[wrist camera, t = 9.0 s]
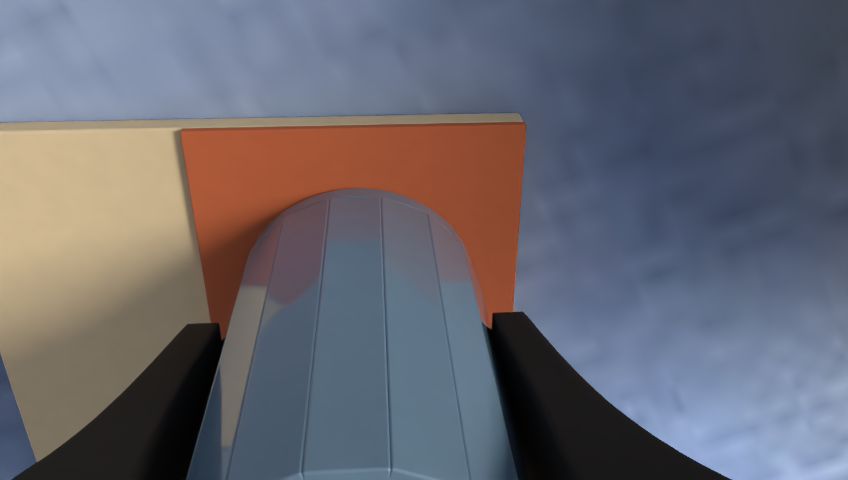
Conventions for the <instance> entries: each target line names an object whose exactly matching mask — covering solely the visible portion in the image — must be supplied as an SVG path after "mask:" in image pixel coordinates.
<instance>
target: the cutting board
mask: <svg viewBox="0 0 848 480" xmlns="http://www.w3.org/2000/svg"><path fill="white" fill-rule="evenodd" d="M525 134H526V124H525V122H523V120H522V118H521V116H520V115H519V114H518V113H484V114H431V115H379V116H326V117H274V118H222V119H169V120H117V121H65V122H12V123H0V354H1V357H2V360H3V363H4V366H5V369H6V372H7V375H8V378H9V381H10V384H11V387H12V390H13V393H14V396H15V399H16V402H17V405H18V408H19V411H20V414H21V417H22V420H23V423H24V426H25V429H26V432H27V435H28V438H29V441H30V444H31V447H32V450H33V453H34V456H35V459H36V462H38V461H40V460H41V459H43V458H44V457H46V456H47V455H49V454H50V453H52V452H53V451H54V450H56V449H57V448H58V447H60V446H61V445H62V444H63V443H65V442H66V441H67V440H69V439H70V438H71V437H73V436H74V435H75V434H76V433H78V432H79V431H80V430H81V429H83V428H84V427H85V426H86V425H87V424H89V423H90V422H91V421H92V420H93V419H94V418H96V417H97V416H98V415H99V414H100V413H101V412H102V411H103V410H104V409H105V408H106V407H108V406H109V405H110V404H111V403H112V402H113V401H114V400H115V399H116V398H117V397H118V396H119V395H120V394H121V393H122V392H123V391H124V390H125V389H126V388H127V387H128V386H129V385H130V384H131V383H132V382H133V381H134V380H135V379H136V378H137V377H138V376H139V375H140V374H141V373H142V372H143V371H144V370H145V369H146V368H147V367H148V366H149V365H150V364H151V363H152V361H153V360H154V359H155V358H156V357H157V356H158V355H159V354H160V353H161V352H162V351H163V349H164V348H165V347H166V346H167V345H168V344H169V343H170V342H171V341H172V340H173V338H174V337H175V336H176V335H177V334H178V333H179V332H180V331H181V330H182V329H183V328H184V327H185V326H186V325H187V324H195V323H219V326H220V333H221V339H222V338H223V334H224V331H225V327H226V324H227V320H228V317H229V313H230V310H231V306H232V303H233V299H234V296H235V292H236V289H237V286H238V283H239V280H240V277H241V274H242V272H243V269H244V265H245V261H246V258H247V256H248V254H249V251H250V249H251V247H252V245H253V244H254V242H255V241H256V239H257V237H258V236H259V234H260V233H261V232H262V231H263V230H264V229H265V227H266V226H267V225H268V224H269V223H270V222H271V221H272V220H273V219H275V218H276V217H277V216H278V215H279V214H280V213H282V212H283V211H285V210H286V209H288V208H289V207H291V206H292V205H294V204H296V203H298V202H300V201H302V200H304V199H307V198H309V197H312V196H315V195H318V194H321V193H324V192H329V191H334V190H339V189H350V188H370V189H378V190H384V191H390V192H393V193H397V194H400V195H404V196H406V197H408V198H411V199H413V200H416V201H418V202H420V203H422V204H423V205H425V206H427V207H429V208H430V209H432V210H433V211H435V212H436V213H437V214H438V215H440V216H441V217H442V218H444V219H445V220H446V221H447V222H448V223H449V224H450V225H451V226H452V227H453V228H454V230H455V231H456V232H457V234H458V235H459V236H460V238H461V239H462V240H463V242H464V244H465V246H466V248H467V250H468V252H469V254H470V257H471V260H472V263H473V266H474V270H475V272H476V274H477V277H478V279H479V282H480V286H481V290H482V294H483V298H484V302H485V306H486V310H487V314H488V318H489V322H490V326H491V330H492V313H499V312H513V299H514V286H515V272H516V258H517V244H518V231H519V217H520V203H521V189H522V175H523V162H524V148H525Z"/></svg>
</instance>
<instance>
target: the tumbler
mask: <svg viewBox="0 0 848 480" xmlns="http://www.w3.org/2000/svg"><path fill="white" fill-rule="evenodd" d="M182 480H529V478H528V474H527V470H526V466H525V462H524V458H523V454H522V450H521V446H520V442H519V438H518V434H517V430H516V426H515V422H514V418H513V414H512V410H511V406H510V402H509V398H508V394H507V390H506V386H505V382H504V378H503V374H502V370H501V366H500V362H499V358H498V354H497V350H496V346H495V342H494V338H493V334H492V330H491V326H490V322H489V318H488V314H487V310H486V306H485V302H484V298H483V294H482V290H481V286H480V282H479V279H478V277H477V274H476V272H475V270H474V266H473V263H472V260H471V257H470V254H469V252H468V250H467V248H466V246H465V244H464V242H463V240H462V239H461V238H460V236H459V235H458V234H457V232H456V231H455V230H454V228H453V227H452V226H451V225H450V224H449V223H448V222H447V221H446V220H445V219H444V218H442V217H441V216H440V215H438V214H437V213H436V212H435V211H433V210H432V209H430V208H429V207H427V206H425V205H423V204H422V203H420V202H418V201H416V200H413V199H411V198H408V197H406V196H404V195H400V194H397V193H393V192H390V191H384V190H378V189H370V188H350V189H339V190H334V191H329V192H324V193H321V194H318V195H315V196H312V197H309V198H307V199H304V200H302V201H300V202H298V203H296V204H294V205H292V206H291V207H289V208H288V209H286V210H285V211H283V212H282V213H280V214H279V215H278V216H277V217H276V218H275V219H273V220H272V221H271V222H270V223H269V224H268V225H267V226H266V227H265V229H264V230H263V231H262V232H261V233H260V234H259V236H258V237H257V239H256V241H255V242H254V244H253V245H252V247H251V249H250V251H249V254H248V256H247V258H246V261H245V265H244V269H243V272H242V274H241V277H240V280H239V283H238V286H237V289H236V292H235V296H234V299H233V303H232V306H231V310H230V313H229V317H228V320H227V324H226V327H225V331H224V334H223V338H222V341H221V345H220V348H219V352H218V355H217V359H216V362H215V366H214V369H213V373H212V376H211V380H210V383H209V387H208V390H207V394H206V397H205V401H204V404H203V408H202V411H201V415H200V418H199V422H198V425H197V429H196V432H195V436H194V439H193V443H192V446H191V450H190V453H189V457H188V460H187V464H186V467H185V471H184V474H183V478H182Z"/></svg>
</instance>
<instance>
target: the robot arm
mask: <svg viewBox="0 0 848 480" xmlns="http://www.w3.org/2000/svg"><path fill="white" fill-rule="evenodd" d="M492 334H493V338H494V342H495V346H496V350H497V354H498V358H499V362H500V366H501V370H502V374H503V378H504V382H505V386H506V390H507V394H508V398H509V402H510V406H511V410H512V414H513V418H514V422H515V426H516V430H517V434H518V438H519V442H520V446H521V450H522V454H523V458H524V462H525V466H526V470H527V474H528V478H529V480H731V479H729V478H727V477H725V476H723V475H721V474H719V473H717V472H715V471H713V470H711V469H709V468H708V467H706V466H704V465H702V464H700V463H698V462H696V461H694V460H693V459H691V458H689V457H687V456H686V455H684V454H682V453H680V452H679V451H677V450H676V449H674V448H672V447H671V446H669V445H668V444H666V443H664V442H663V441H661V440H660V439H658V438H657V437H655V436H653V435H652V434H651V433H649V432H648V431H646V430H645V429H643V428H642V427H640V426H639V425H638V424H636V423H635V422H634V421H632V420H631V419H630V418H628V417H627V416H626V415H625V414H623V413H622V412H621V411H619V410H618V409H617V408H615V407H614V406H613V405H612V404H611V403H609V402H608V401H607V400H606V399H605V398H604V397H603V396H601V395H600V394H599V393H598V392H597V391H596V390H595V389H594V388H593V387H592V386H591V385H589V384H588V383H587V382H586V381H585V380H584V379H583V378H582V377H581V376H580V375H579V374H578V373H577V372H576V371H575V370H574V368H573V367H572V366H571V365H570V364H569V363H568V362H567V361H566V360H565V359H564V358H563V357H562V356H561V355H560V354H559V353H558V352H557V350H556V349H555V348H554V347H553V346H552V345H551V344H550V343H549V341H548V340H547V339H546V338H545V337H544V336H543V334H542V333H541V332H540V331H539V330H538V329H537V327H536V326H535V325H534V324H533V322H532V321H531V320H530V319H529V318H528V316H526V315H525V314H524V313H523V312H499V313H492ZM221 341H222V339H221V333H220V326H219V323H195V324H187V325H186V326H185V327H184V328H183V329H182V330H181V331H180V332H179V333H178V334H177V335H176V336H175V337H174V338H173V340H172V341H171V342H170V343H169V344H168V345H167V346H166V347H165V348H164V349H163V351H162V352H161V353H160V354H159V355H158V356H157V357H156V358H155V359H154V360H153V361H152V363H151V364H150V365H149V366H148V367H147V368H146V369H145V370H144V371H143V372H142V373H141V374H140V375H139V376H138V377H137V378H136V379H135V380H134V381H133V382H132V383H131V384H130V385H129V386H128V387H127V388H126V389H125V390H124V391H123V392H122V393H121V394H120V395H119V396H118V397H117V398H116V399H115V400H114V401H113V402H112V403H111V404H110V405H109V406H108V407H106V408H105V409H104V410H103V411H102V412H101V413H100V414H99V415H98V416H97V417H96V418H94V419H93V420H92V421H91V422H90V423H89V424H87V425H86V426H85V427H84V428H83V429H81V430H80V431H79V432H78V433H76V434H75V435H74V436H73V437H71V438H70V439H69V440H67V441H66V442H65V443H63V444H62V445H61V446H60V447H58V448H57V449H56V450H54V451H53V452H52V453H50V454H49V455H47V456H46V457H44V458H43V459H41V460H40V461H38V462H37V463H35V464H34V465H32V466H31V467H29V468H28V469H26V470H25V471H23V472H22V473H20V474H19V475H17V476H16V477H14V478H13V479H11V480H182V478H183V474H184V471H185V467H186V464H187V460H188V457H189V453H190V450H191V446H192V443H193V439H194V436H195V432H196V429H197V425H198V422H199V418H200V415H201V411H202V408H203V404H204V401H205V397H206V394H207V390H208V387H209V383H210V380H211V376H212V373H213V369H214V366H215V362H216V359H217V355H218V352H219V348H220V345H221Z"/></svg>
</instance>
